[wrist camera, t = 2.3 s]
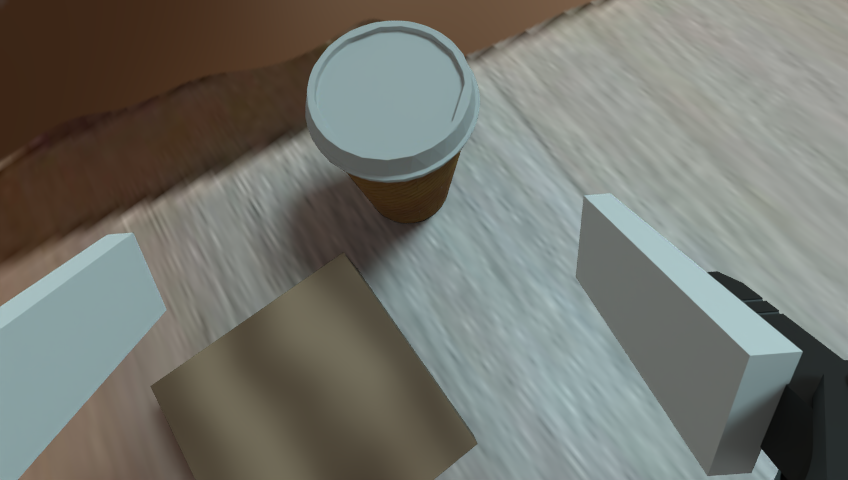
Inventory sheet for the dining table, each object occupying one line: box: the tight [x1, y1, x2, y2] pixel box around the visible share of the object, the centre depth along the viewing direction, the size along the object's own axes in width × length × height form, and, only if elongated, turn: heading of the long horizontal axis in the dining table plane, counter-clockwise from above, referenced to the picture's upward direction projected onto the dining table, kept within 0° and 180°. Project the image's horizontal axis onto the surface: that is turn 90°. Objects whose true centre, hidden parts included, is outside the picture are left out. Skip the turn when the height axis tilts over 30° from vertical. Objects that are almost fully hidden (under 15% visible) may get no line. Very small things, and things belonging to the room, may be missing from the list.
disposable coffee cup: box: [306, 21, 480, 223], centre depth 27 cm, size 10×10×12 cm
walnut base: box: [151, 252, 477, 480], centre depth 26 cm, size 14×14×4 cm
